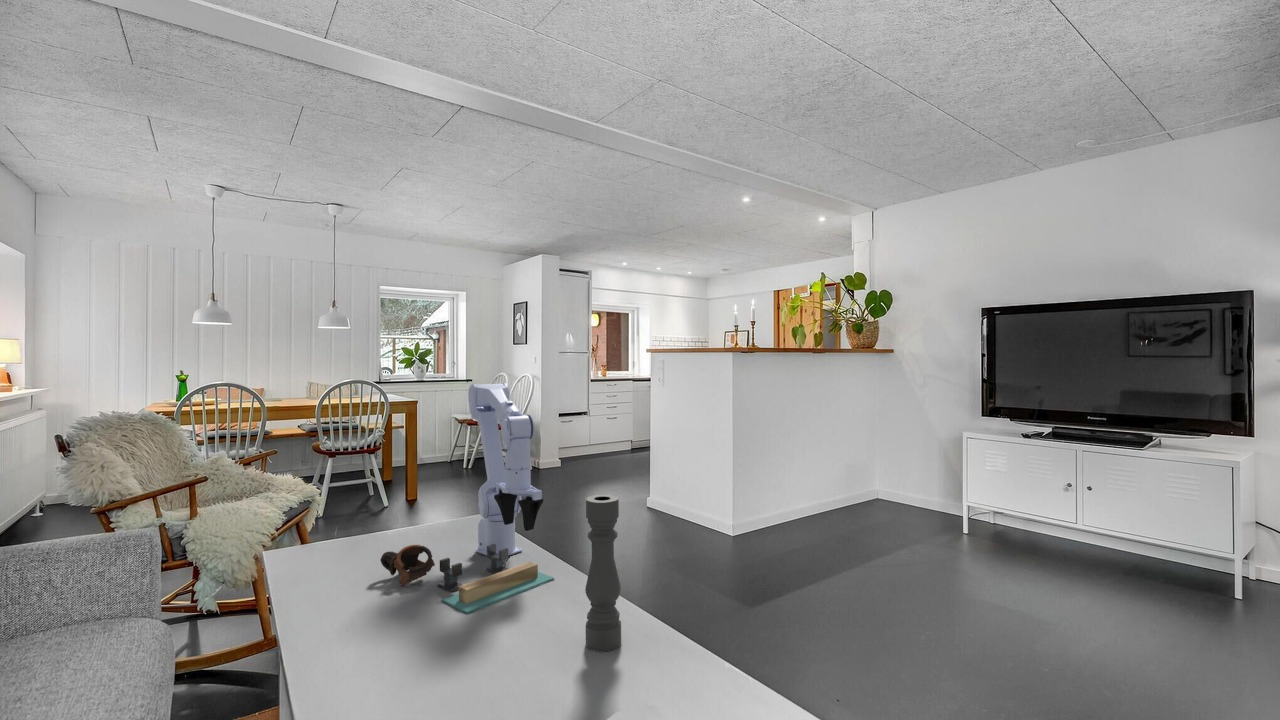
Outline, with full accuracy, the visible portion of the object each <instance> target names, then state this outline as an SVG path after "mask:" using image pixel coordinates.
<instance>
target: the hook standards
mask: <svg viewBox="0 0 1280 720" xmlns="http://www.w3.org/2000/svg"><path fill="white" fill-rule="evenodd" d="M486 557H487V558H491V560H490V561H491V565H489V566H486V567H485V571H487V572H489V573H491V574H496V573H499V572H502V571H504V570H507V569H509V568H508V567H506V566H505V565H504V564H505V561H507V560H509V556H508V548H505V549H502V550H499V554H498V553H496V544H491V545H488V546H487V555H486ZM439 572H440V573H443V576H444V577H443V581H442V582H439V583H438V587H439V588H441V589H443V590H444V591H448V592H449V593H454V592H457V591H459V586H462V585H463V584H461V583H460V582H459V581H458V578H459V577H460V576H463V563H462V562H457V563H455V564H452V565H451V558H450V557H445V558H443V559H439Z"/></svg>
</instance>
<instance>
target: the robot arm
mask: <svg viewBox="0 0 1280 720" xmlns="http://www.w3.org/2000/svg"><path fill="white" fill-rule="evenodd" d="M468 387H469V388H468V395H467V396H468V397H467V399H468V407H469V412H470V416H471V418H472V419H473V420H476V421H477V423H478V427H479V431H480V438H481V444H482V445H481V446H482V451H483V457H484V458H483V459H484V465H485V473H486V478H487V480H486V481H485V482H484V483H483V484H482V485H481V486H480V487H479V489H478V492H477V497H478V499H477V500H478V501H477V503H478V512H479V515H480V516H481V518H480V519H479V522H478V526H477V532H478V533H477V534H478V535H477V541H478V542H477V545H478V547H477V548H476V549H475V550H474V551H475V552H477V553H479V554H481V555H484V556H487V546H488V545H491V544H496V553H498V554H499V550H502V549H505V548H508V557H509V556H511V555H514V554H517V553H520V552H523V548H520V547H517V546H516V518H517V517H518V514H520V511H521V513H522V521H523V529H524V531H525V532H526V531H532V530H534V529H535V523H536V520H537V516H538V513H539V510H540V508H541V506H542V504H543V502H544V498H543V491H542V489H538V488H536V487H535V486H533V485H532V484H531V483H532V482H531V481H532V480H531V479H532V477H531V440H532V439H534V438H533V437H534V436H535V425H534V419H533V417H532V415H531V414H529V413H528V414H523V412H522V411H521V409H519V407H518V406H517V404H516V403H514V402H513V400H510V397H511V393H510V388H509V386H508V384H507V383H506V382H502V383H482V384H481V383H480V384H478V383H477V384H475V383H472V384H471V385H470V386H468ZM499 426H500V429H499ZM500 433H501V435H500ZM501 438H502V443H501ZM502 447H503V449H504V455H503V449H502ZM522 498H524V499H522Z"/></svg>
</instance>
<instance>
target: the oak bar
mask: <svg viewBox="0 0 1280 720" xmlns="http://www.w3.org/2000/svg"><path fill="white" fill-rule="evenodd" d="M538 566H539V564H538V563H536V562H531V561H528V562H524V563H523V564H519V565H516V566H513V567H511V568H508V569H507V570H504V571H502V572H499V573H496V574H494V573H492V574H491V575H488V576H484V577H482V578H479V579H477V580H473V581H471V582H468V583H465V584H462V586H459V590H458V593H459V600H460V601H462V602H464V603H466V604H468V603H471V602H474V601H476V600H479V599H481V598H484V597H487V596H489V595H492V594H495V593H497V592H500V591H502V590H505V589H508V588H510V587H513V586H515V585H518V584H521V583H523V582H526V581H529V580H531V579H534V578H536V577H538V572H539V571H538V570H539V567H538Z"/></svg>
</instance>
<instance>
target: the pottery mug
mask: <svg viewBox="0 0 1280 720" xmlns="http://www.w3.org/2000/svg"><path fill="white" fill-rule="evenodd" d="M423 553H425V554H426V555H427V560H426V561H422V560H421V559H419V556H420V554H423ZM379 560H380V563H381V566H382V567H384V568H385V569H386V570H387V571H389V573H390V575H391V576H394V575H395V574H396V573H397V574H399V575H400V578H399V580H398V582H399V583H398V584H399V585H402V586H403V585H404V586H403V587H406V586H407V585H408V584H409V583H410V582H413V581H416V580H419V579H420V578H423V577H425V576H427V574H428V573H429V572H430V571H431V570H432V568H433V567H435V566H436V564H435V562H434V561H435V560H434V559H433V555H432V551H431V549H429V548H428V547H426V546H424V545H420V544H410V545H407V546H404V547H403V548H402V549H400V550H399V551H398V552H395V551H386V552H384V553H383V554H382V555H381V558H380V559H379ZM405 585H406V586H405Z"/></svg>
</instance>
